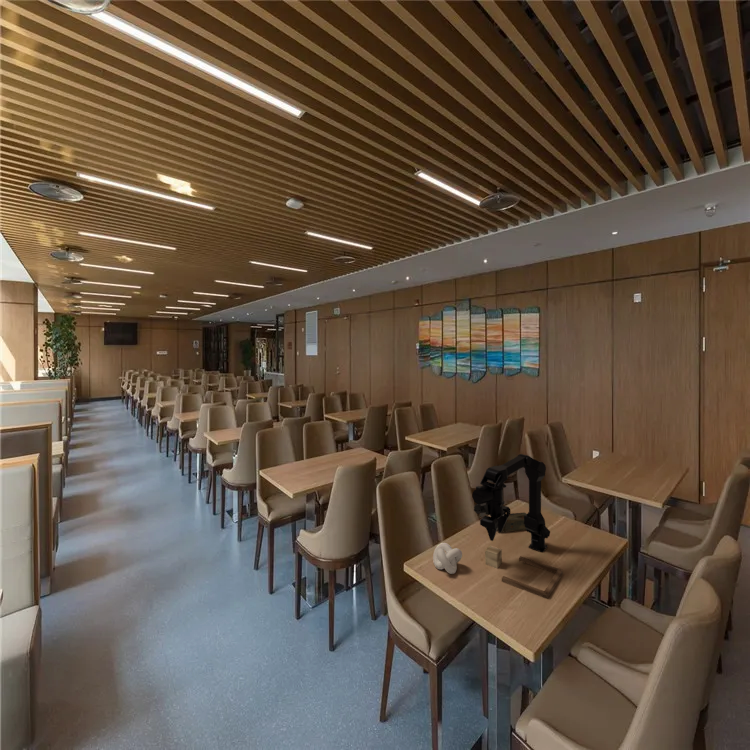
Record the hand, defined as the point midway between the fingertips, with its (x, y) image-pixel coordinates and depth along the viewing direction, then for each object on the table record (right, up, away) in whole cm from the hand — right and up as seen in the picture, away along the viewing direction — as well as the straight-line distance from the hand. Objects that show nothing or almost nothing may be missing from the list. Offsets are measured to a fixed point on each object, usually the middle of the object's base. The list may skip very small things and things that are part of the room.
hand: (495, 536), depth 152 cm
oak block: (0, -12, +1) cm, 12 cm away
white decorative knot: (-21, -13, -1) cm, 25 cm away
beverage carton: (+19, -11, +34) cm, 40 cm away
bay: (+11, -12, -8) cm, 18 cm away
